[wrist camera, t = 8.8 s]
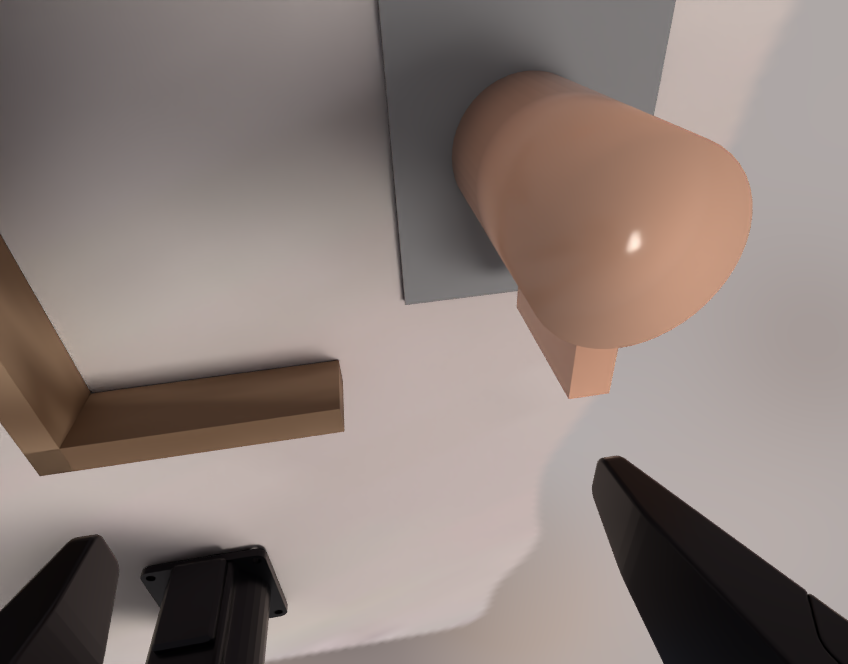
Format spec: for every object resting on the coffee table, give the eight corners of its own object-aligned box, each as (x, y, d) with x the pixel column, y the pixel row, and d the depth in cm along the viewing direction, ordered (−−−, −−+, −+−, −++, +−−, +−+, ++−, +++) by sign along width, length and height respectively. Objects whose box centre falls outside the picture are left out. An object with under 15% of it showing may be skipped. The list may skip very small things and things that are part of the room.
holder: (343, 381, 22) (344, 431, 20) (72, 419, 21) (39, 476, 19) (226, -227, 12) (200, -280, 9) (-319, -212, 11) (-508, -266, 8)
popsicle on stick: (604, 64, 16) (786, 121, 10) (577, 271, 21) (691, 407, 14) (449, 77, 16) (533, 146, 9) (454, 286, 20) (514, 434, 14)
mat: (619, 274, 21) (622, 277, 21) (404, 301, 21) (405, 304, 20) (681, -57, 15) (687, -58, 15) (374, -38, 14) (375, -38, 14)
